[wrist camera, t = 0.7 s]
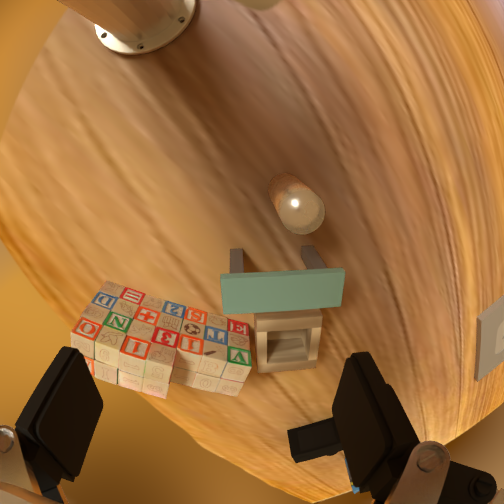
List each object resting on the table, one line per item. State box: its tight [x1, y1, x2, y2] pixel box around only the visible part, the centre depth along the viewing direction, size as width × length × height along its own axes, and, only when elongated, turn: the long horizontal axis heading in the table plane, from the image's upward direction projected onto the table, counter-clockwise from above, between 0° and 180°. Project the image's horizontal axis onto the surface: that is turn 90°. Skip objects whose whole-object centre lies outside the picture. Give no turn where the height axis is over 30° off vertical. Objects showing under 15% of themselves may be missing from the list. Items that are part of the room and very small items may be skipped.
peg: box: [268, 173, 325, 235], centre depth 30 cm, size 4×4×10 cm
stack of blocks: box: [71, 281, 252, 399], centre depth 36 cm, size 21×6×12 cm, turn 71°
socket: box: [254, 308, 323, 373], centre depth 39 cm, size 9×8×6 cm
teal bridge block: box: [220, 246, 345, 314], centre depth 33 cm, size 4×12×10 cm, turn 92°
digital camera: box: [287, 417, 343, 463], centre depth 52 cm, size 10×5×7 cm, turn 108°
